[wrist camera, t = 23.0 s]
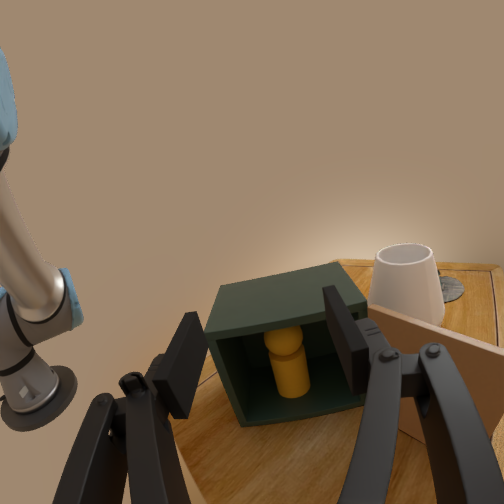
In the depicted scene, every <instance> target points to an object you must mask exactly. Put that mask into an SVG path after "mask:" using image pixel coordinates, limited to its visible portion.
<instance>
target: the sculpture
mask: <svg viewBox="0 0 504 504" xmlns="http://www.w3.org/2000/svg"><path fill="white" fill-rule="evenodd" d="M437 271H438V276H439V275H440V272H439V270H437ZM439 280H440V285H441V290H442V295H443V301H444V302H447V301H451V300H454V299H457V298H458V297H459V296H461V295H462V293H463V292H464V286H463V285H462V283H461V282H460V281H459V280H457V279H455V278H452V277H448V276H444V277H440V276H439Z"/></svg>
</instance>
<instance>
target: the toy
mask: <svg viewBox="0 0 504 504" xmlns="http://www.w3.org/2000/svg"><path fill="white" fill-rule="evenodd" d="M302 340H303V333H302V329H301V327H300V326H299V325H298V326H294V327H289V328H283V329H278V330H273V331H267V332H264V342H265V345H266V347H267V348H268V349H269V358H270V362H271V366H272V370H273V373H274V377H275V381H276V385H277V389H278V392H279V394H280V395H282V396H283V397H286V398H297V397H300V396H302V395H304V394H305V393H306V392H307V391H308V390H309V388H310V379H309V373H308V367H307V361H306V355H305V349H304V345H303V344H302Z"/></svg>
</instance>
